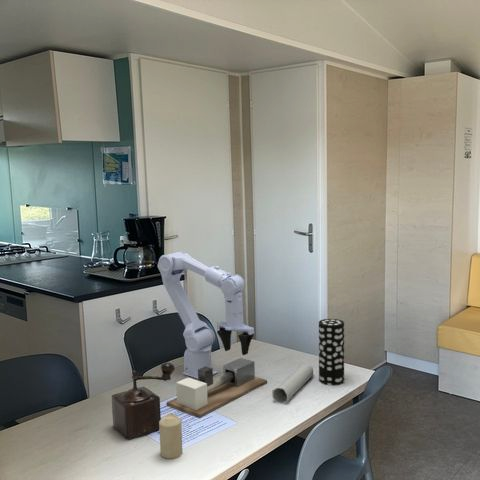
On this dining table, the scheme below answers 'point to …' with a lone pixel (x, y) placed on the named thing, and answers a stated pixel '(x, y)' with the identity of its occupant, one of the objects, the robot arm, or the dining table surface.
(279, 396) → the tube
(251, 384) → the base board
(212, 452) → the dining table surface
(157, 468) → the dining table surface
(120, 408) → the manual coffee grinder
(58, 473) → the dining table surface
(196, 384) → the cream rectangular block
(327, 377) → the white-spotted black cylinder
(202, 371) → the inner tube
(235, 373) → the sleeve
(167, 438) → the candle
